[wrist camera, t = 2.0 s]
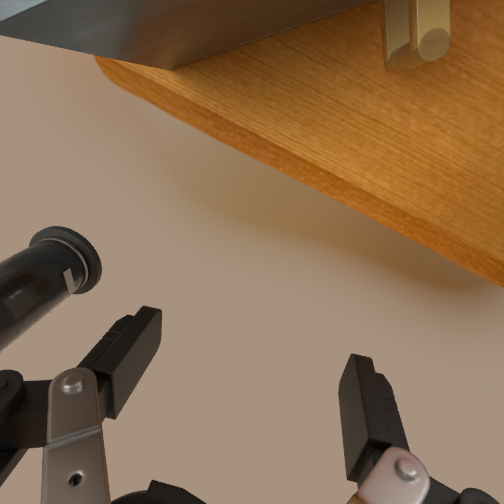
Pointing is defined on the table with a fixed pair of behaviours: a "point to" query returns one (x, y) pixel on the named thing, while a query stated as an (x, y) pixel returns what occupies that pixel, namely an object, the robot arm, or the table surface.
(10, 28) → the door
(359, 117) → the table surface
